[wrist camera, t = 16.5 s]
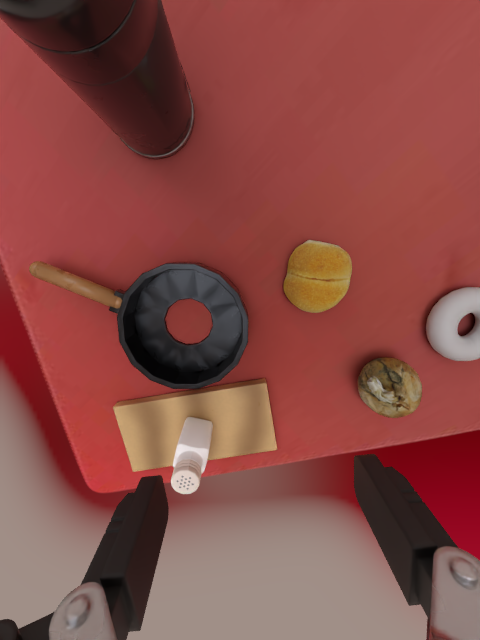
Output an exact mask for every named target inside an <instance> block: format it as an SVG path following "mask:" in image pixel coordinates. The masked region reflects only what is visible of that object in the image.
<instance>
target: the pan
mask: <svg viewBox="0 0 480 640" xmlns="http://www.w3.org/2000/svg"><path fill="white" fill-rule="evenodd" d="M29 271H30V273H31V274H32V275H33V276H34V277H36V278H39V279H41V280H44V281H46V282H49V283H51V284H54V285H56V286H59V287H61V288H64V289H67V290H69V291H72V292H74V293H77V294H79V295H82V296H84V297H87V298H89V299H92V300H94V301H97V302H99V303H102V304H104V305H107V306H109V307H110V309H109V310H110V311H112V312H115V313H117V314H118V315H117V321H118V331H119V341H120V344H121V345H122V347H123V349H124V351H125V353H126V355H127V357H128V358H129V360H130V362H131V364H132V365H133V366H134V367H136V368H137V369H138V370H139V371H140V372H141V373H143V374H144V375H145V376H146V377H147V378H148V379H150V380H151V381H154V382H157V383H159V384H162V385H165V386H167V387H170V388H173V389H199V388H202V387H204V386H207V385H210V384H212V383H215V382H218V381H220V380H221V379H222V378H223V377H224V376H226V375H227V374H228V373H229V372H230V371H231V370H232V369H233V368H234V367H235V366H236V365H237V364H238V363H239V361H240V358H241V356H242V354H243V352H244V349H245V347H246V345H247V343H248V314H247V309H246V307H245V304H244V302H243V300H242V297H241V295H240V292H239V290H238V288H237V287H236V286H235V285H234V284H233V283H232V282H231V281H230V280H229V279H228V278H227V277H226V276H225V275H224V274H223V273H222V272H220V271H217V270H215V269H213V268H210V267H208V266H206V265H203V264H201V263H166V264H164V265H162V266H159V267H157V268H155V269H152V270H150V271H148V272H145V273H143V274H142V275H141V276H140V277H139V278H138V279H137V280H136V281H135V282H134V283H133V284H132V285H131V287H130V288H129V289H128V290H127V291H123V290H121V289H120V290H116V291H114V290H111V289H109V288H106V287H104V286H101V285H99V284H96V283H94V282H91V281H89V280H86V279H84V278H82V277H79V276H77V275H74V274H72V273H69V272H67V271H64V270H62V269H59V268H57V267H54V266H52V265H49V264H47V263H44V262H41V261H36V262H33V263H32V264H31V265H30V267H29ZM156 276H157V277H156ZM155 277H156V278H155ZM154 278H155V279H154ZM189 298H192V299H194V300H196V301H199V302H201V303H203V304H204V305H205V306H206V308H207V309H208V310H209V311H210V313H211V316H212V322H213V327H212V329H211V331H210V334H209V336H208V337H207V338H205V339H204V340H203V341H201V342H200V343H196V344H184V343H182V342H179V341H177V340H175V339H174V338H173V337H172V336H171V334H170V333H169V332H168V331H167V327H166V322H165V317H166V314H167V311H168V309H169V307H170V306H171V305H172V304H174V303H175V302H176V301H177V300H181V299H189ZM219 363H220V364H219Z"/></svg>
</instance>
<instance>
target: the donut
mask: <svg viewBox="0 0 480 640" xmlns="http://www.w3.org/2000/svg"><path fill="white" fill-rule="evenodd" d="M468 313H473V314H474V316H475V325H474V327H473V329H472V330H471V331H470V332H469V333H468V334H466V335H465V336H459V335H458V331H457V328H458V324H459V322H460V320H461V319H462V318H463V317H464V316H465V315H467V314H468ZM426 333H427V338H428V341H429V342H430V344H431V346H432V347H433V349H434V350H436V351H437V352H438V353H439V354H441V355H442V356H443V357H446V358H449V359H452V360H455V361H472V360H475V359H479V358H480V287H465V288H461V289H458V290H455V291H452V292H450V293H449V294H447V295H446V296H444V297H442V298H441V299H440V300H439V301H438V302H437V303H436V304H435V305H434V307H433V308H432V310H431V312H430V314H429V316H428V318H427V324H426Z"/></svg>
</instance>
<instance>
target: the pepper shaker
mask: <svg viewBox="0 0 480 640" xmlns="http://www.w3.org/2000/svg"><path fill="white" fill-rule="evenodd" d="M212 429H213V424H212V422H211V421H208V420H203V419H198V418H194V417H187V419H186V420H185V422H184V425H183V429H182V432H181V435H180V438H179V441H178V444H177V448H176V452H175V456H174V461H173V467H174V471H173V474H172V477H171V485H172V487H173V488H174V489H175V491H177V492H179V493H181V494H190V493H192V492H194V491H196V490H197V488H198V486H199V484H200V479H201V474H202V473H203V472H204V470H205V466H206V463H207V459H208V454H209V449H210V442H211V435H212Z"/></svg>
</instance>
